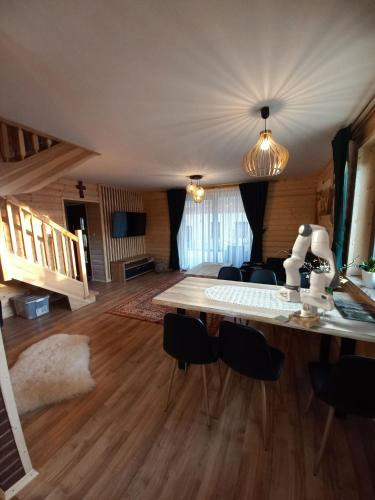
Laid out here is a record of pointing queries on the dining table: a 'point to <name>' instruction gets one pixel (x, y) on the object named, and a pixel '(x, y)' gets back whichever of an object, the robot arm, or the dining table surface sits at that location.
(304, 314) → the plug
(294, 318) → the socket block
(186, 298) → the dining table surface
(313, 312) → the cup
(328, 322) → the dining table surface
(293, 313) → the clip
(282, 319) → the mat
